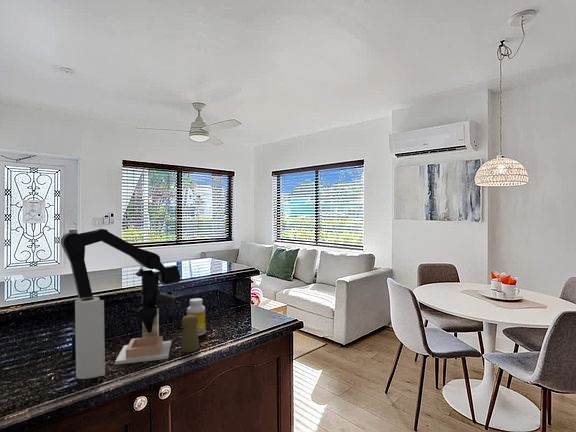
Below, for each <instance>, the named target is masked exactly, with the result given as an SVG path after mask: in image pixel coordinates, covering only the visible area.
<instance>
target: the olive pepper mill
mask: <svg viewBox="0 0 576 432" xmlns="http://www.w3.org/2000/svg"><path fill="white" fill-rule="evenodd" d="M197 323H198V317H197V316H196V315H187V314H186V315H184V316H183V317H182V319H181V324H182V326H183V330H182V339H181V345H180V347H181V348H180V351H182V352H183V353H192V352H196V351H198V350H200V341H199V340H200V339H199V336H198V333H197V326H196V325H197Z"/></svg>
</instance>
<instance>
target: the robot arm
mask: <svg viewBox="0 0 576 432" xmlns="http://www.w3.org/2000/svg"><path fill="white" fill-rule="evenodd" d="M99 242H102V243H104V244H106V245H107V246H110V247H111V248H114V249H115V250H118V251H119V252H121V253H123V254H125V255H127V256H129V257H130V258H132V259H133V260H134V261H135V263H138V264H139V265H140V266H142V267H143V268H145V269H147V270H144V269H143V268H139V270H138V271H136V273H135V274H134V275H135V276H137V277H141V290H140V295H141V302H140V307H139V309H138V310H137V312H136V315H137V317H136V318H139V319H140V320H141V321H142V322H143V323H144V325H145V327H146V329H147V331H148V333H150V332H152V326H153V321H154V318H155V317H156V316H157V315H158V308H159V310H160V309H161V305H164V306H167V307H169V308H172V307H173V305H174V301H175V299H176V296H175V294H173V291H172V290H169V289H168V290H167V291H166V292H162V291H161V288H160V286H159V285H160V284H161V285H162V286H168V285H174V284H179V283H180V281H181V274H180V270H179V267H178V265H176V264H174V265H170V266H164V264H163V263H162V262H161V257H160V256H159V254H157V253H154V252H152V251H149V250H146V249H142V248H140V247H138V246H135V245H134V244H132V243H130V242H128V241H126V240H124V239H122V238H120V237H119V236H117V235H116V234H114V233H111V232H110V231H109V230H107V229H105V228H97V229H95V230H91V231H86V232H81V233H76V232H67V233H65V234H63V235H62V237H61V238H60V245H61V248H62V249H63V252H64V253H65V254H64V255H66V257H67V259H68V262H69V264H70V267H71V272H72V275H73V280H74V284H75V289H76V293H77V297H78V298H77V299H81V298H87V297H94V296H93V291H92V286H91V282H90V278H89V274H88V270H87V266H86V261H85V257H86V256H85V255H86V246H89V245H93V244H96V243H99ZM153 270H156V271H153ZM105 318H106V317H105V315H104V319H105ZM142 322H141V323H142ZM71 330H72V332H73V335H72V337H71V355H70V357H69V359H76V336H75V324H73V325H72V327H71Z"/></svg>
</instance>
